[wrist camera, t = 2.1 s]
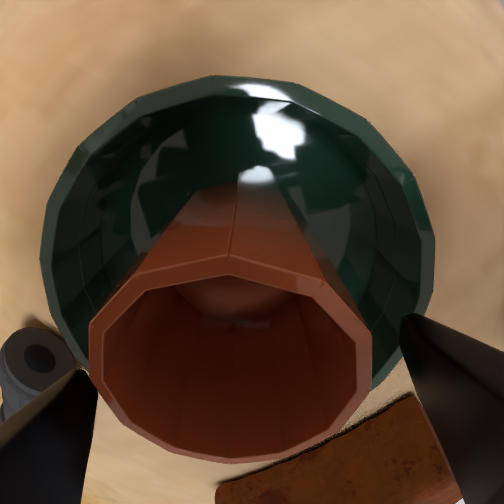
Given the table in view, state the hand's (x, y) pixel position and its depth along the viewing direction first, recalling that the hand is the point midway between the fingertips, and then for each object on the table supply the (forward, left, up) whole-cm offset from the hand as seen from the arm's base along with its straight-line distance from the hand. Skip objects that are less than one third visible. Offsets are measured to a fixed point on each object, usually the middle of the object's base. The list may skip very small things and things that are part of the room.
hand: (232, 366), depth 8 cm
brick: (-3, +21, -8) cm, 23 cm away
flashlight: (+18, +8, -8) cm, 21 cm away
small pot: (0, 0, -7) cm, 7 cm away
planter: (0, 0, -8) cm, 8 cm away
